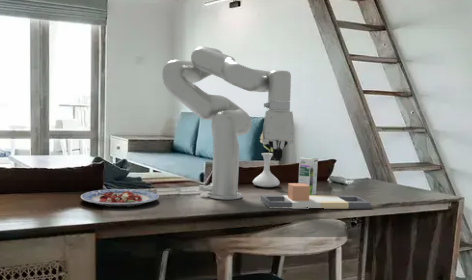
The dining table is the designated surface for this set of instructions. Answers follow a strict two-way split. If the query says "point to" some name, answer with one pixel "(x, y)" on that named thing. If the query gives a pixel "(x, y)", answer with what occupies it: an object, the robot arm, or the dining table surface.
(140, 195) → the ceramic plate
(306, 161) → the syrup box
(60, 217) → the dining table surface
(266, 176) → the flower in vase
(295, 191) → the terracotta block
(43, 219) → the dining table surface
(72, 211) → the dining table surface
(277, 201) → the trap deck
